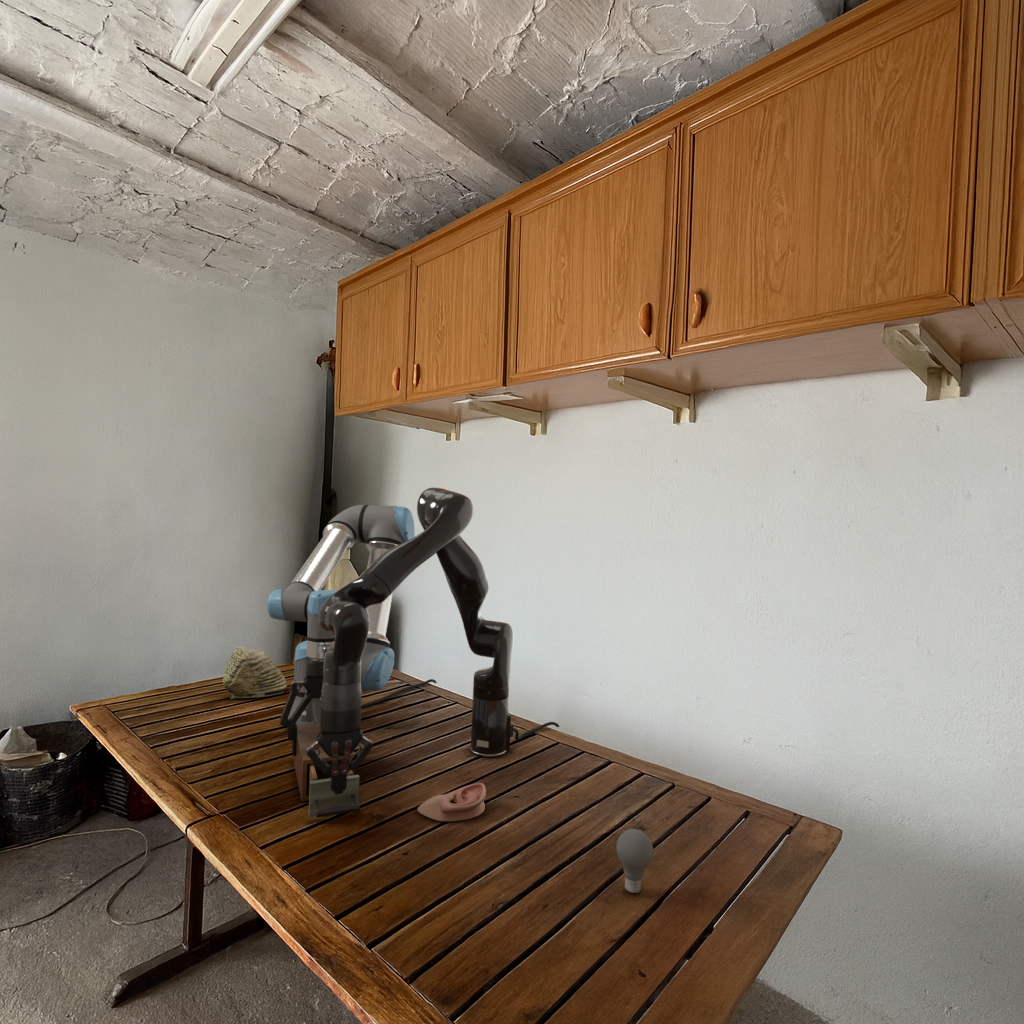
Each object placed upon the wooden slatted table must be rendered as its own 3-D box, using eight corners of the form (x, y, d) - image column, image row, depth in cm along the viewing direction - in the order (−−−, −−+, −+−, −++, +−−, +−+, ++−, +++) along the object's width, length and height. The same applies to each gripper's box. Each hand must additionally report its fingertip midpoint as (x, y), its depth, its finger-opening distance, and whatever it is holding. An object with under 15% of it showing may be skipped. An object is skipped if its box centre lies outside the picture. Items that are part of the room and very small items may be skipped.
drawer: (363, 823, 122) (364, 789, 121) (312, 832, 118) (313, 796, 118) (343, 770, 145) (344, 741, 144) (300, 776, 141) (301, 746, 141)
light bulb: (610, 879, 108) (613, 822, 108) (644, 879, 109) (647, 822, 109) (619, 902, 102) (622, 840, 102) (655, 901, 103) (658, 840, 103)
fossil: (218, 695, 195) (220, 647, 195) (278, 685, 208) (279, 640, 207) (228, 703, 189) (230, 653, 188) (289, 692, 201) (290, 645, 201)
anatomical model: (412, 797, 126) (431, 773, 138) (411, 817, 126) (430, 791, 138) (476, 807, 124) (490, 781, 135) (476, 827, 124) (489, 800, 135)
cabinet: (353, 794, 136) (355, 754, 135) (301, 801, 131) (302, 760, 131) (339, 756, 154) (340, 721, 154) (293, 762, 150) (294, 726, 150)
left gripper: (271, 664, 140) (267, 763, 140) (375, 658, 149) (372, 751, 150) (269, 656, 147) (266, 750, 147) (369, 650, 156) (366, 739, 156)
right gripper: (306, 713, 115) (304, 807, 116) (379, 706, 120) (376, 795, 121) (303, 700, 122) (300, 788, 123) (372, 693, 127) (369, 778, 128)
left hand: (319, 750), depth 148 cm, fingers closed on cabinet, 11 cm apart
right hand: (338, 792), depth 122 cm, fingers closed
